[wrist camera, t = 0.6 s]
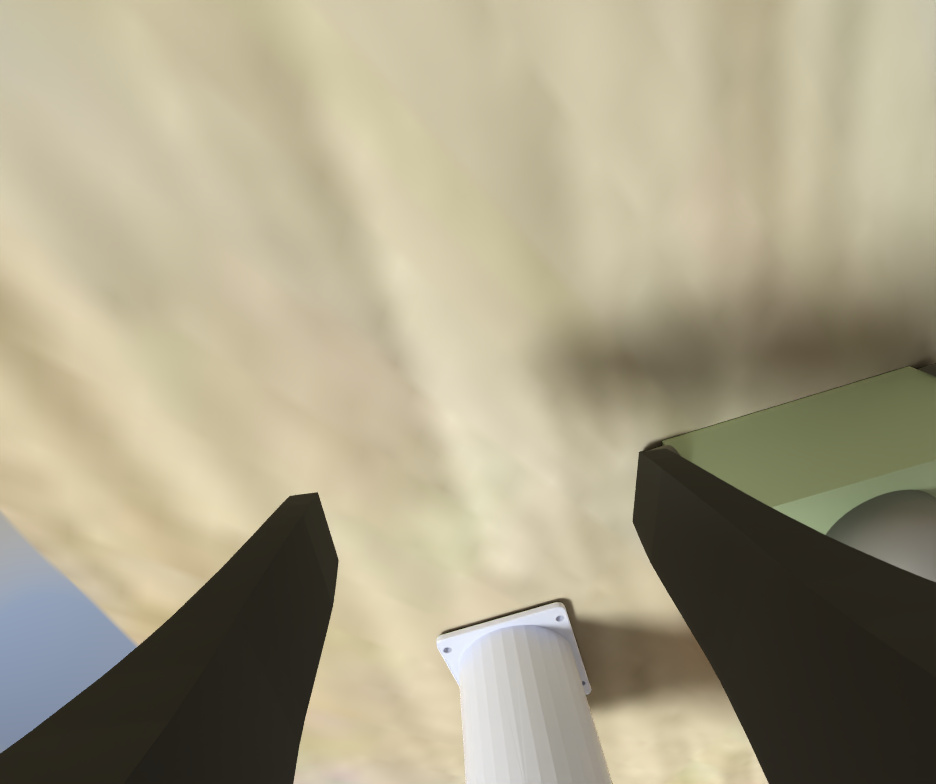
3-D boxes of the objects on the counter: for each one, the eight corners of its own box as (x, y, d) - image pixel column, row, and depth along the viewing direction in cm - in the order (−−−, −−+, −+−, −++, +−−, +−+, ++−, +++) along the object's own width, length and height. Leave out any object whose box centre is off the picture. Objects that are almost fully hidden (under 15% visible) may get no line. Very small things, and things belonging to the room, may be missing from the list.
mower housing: (893, 569, 28) (1069, 719, 20) (667, 631, 29) (754, 797, 21) (936, 348, 21) (1229, 451, 13) (636, 440, 22) (749, 584, 14)
